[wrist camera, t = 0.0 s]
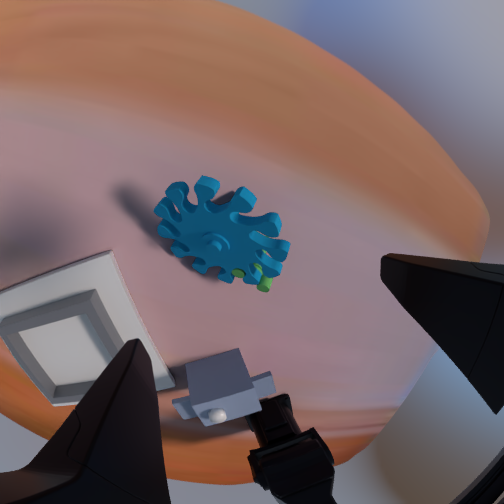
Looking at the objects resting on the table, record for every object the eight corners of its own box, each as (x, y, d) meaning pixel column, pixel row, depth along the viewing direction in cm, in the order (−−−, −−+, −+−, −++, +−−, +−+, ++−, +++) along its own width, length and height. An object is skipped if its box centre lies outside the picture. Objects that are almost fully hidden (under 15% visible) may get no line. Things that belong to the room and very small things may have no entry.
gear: (126, 215, 18) (224, 165, 13) (165, 170, 22) (259, 119, 16) (214, 300, 25) (315, 294, 19) (235, 252, 28) (327, 235, 22)
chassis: (174, 380, 27) (176, 399, 24) (55, 400, 23) (51, 417, 21) (111, 249, 20) (103, 263, 18) (-15, 297, 17) (-27, 311, 15)
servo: (262, 365, 29) (283, 408, 23) (181, 390, 28) (188, 436, 21) (256, 341, 28) (278, 386, 22) (168, 368, 26) (171, 417, 20)
